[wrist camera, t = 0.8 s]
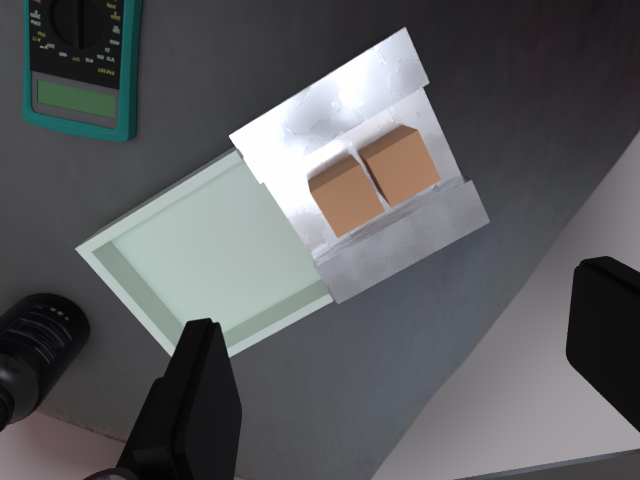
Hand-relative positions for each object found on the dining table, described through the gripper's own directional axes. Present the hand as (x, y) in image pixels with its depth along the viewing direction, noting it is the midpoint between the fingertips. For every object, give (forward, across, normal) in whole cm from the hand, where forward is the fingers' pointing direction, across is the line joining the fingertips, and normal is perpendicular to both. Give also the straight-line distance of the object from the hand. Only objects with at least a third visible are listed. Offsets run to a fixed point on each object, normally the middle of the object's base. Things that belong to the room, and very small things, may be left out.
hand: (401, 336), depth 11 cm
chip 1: (+23, -1, +2) cm, 23 cm away
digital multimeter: (+26, +15, -12) cm, 32 cm away
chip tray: (+25, +10, +6) cm, 28 cm away
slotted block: (+25, -3, +1) cm, 25 cm away
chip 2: (+23, -5, 0) cm, 24 cm away
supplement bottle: (+25, +26, +11) cm, 38 cm away
